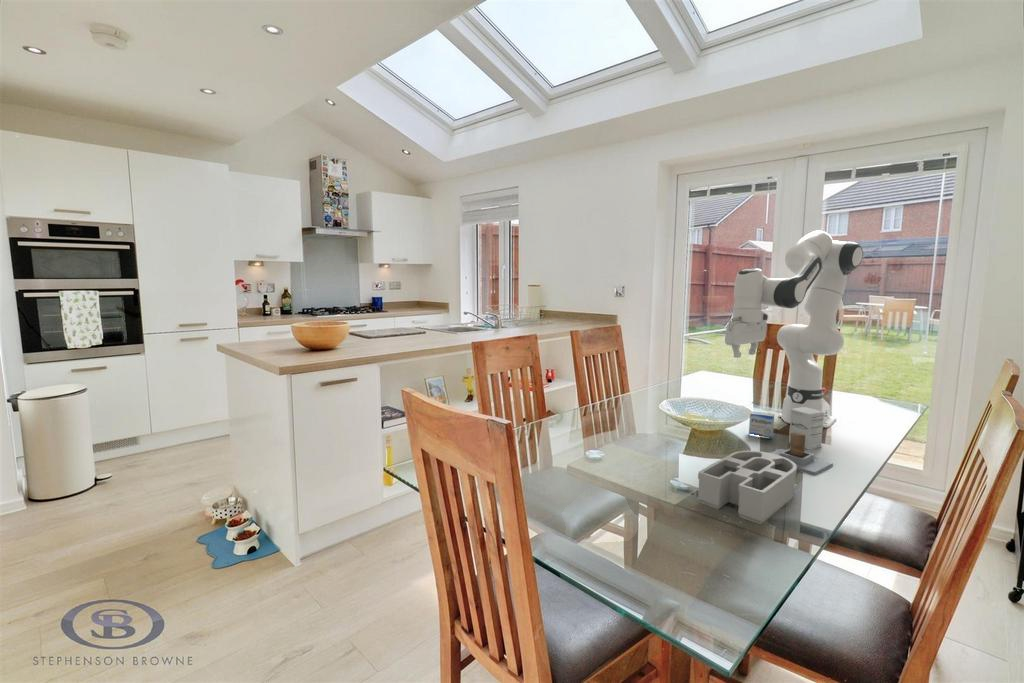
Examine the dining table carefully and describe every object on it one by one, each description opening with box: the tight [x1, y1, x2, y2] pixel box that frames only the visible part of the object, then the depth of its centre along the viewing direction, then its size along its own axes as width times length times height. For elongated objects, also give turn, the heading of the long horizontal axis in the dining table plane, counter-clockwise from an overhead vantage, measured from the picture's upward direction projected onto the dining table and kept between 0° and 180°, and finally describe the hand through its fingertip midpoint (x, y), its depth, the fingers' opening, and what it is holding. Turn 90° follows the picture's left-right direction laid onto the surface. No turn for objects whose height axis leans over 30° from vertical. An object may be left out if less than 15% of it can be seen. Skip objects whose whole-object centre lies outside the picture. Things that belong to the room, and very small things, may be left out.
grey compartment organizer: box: [697, 450, 798, 525], centre depth 132 cm, size 17×28×9 cm, turn 132°
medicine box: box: [748, 411, 775, 438], centre depth 180 cm, size 8×4×9 cm, turn 62°
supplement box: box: [788, 407, 824, 450], centre depth 170 cm, size 7×7×13 cm
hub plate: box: [770, 448, 833, 477], centre depth 155 cm, size 12×16×3 cm
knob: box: [789, 432, 806, 458], centre depth 155 cm, size 4×4×8 cm
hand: (744, 356), depth 170 cm, fingers open, 8 cm apart
